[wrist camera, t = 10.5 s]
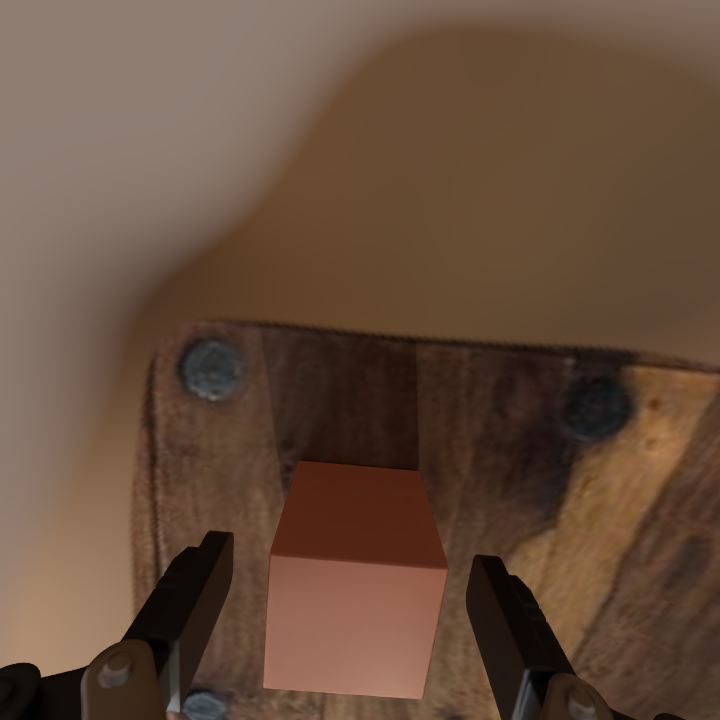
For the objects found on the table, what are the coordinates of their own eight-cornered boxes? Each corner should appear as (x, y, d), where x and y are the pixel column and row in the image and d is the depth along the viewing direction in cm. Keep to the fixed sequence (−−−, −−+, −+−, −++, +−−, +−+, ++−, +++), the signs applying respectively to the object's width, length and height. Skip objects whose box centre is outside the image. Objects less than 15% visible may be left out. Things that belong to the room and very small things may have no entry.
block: (298, 459, 13) (269, 554, 9) (420, 470, 13) (449, 568, 9) (291, 561, 14) (262, 688, 10) (403, 570, 14) (423, 701, 10)
